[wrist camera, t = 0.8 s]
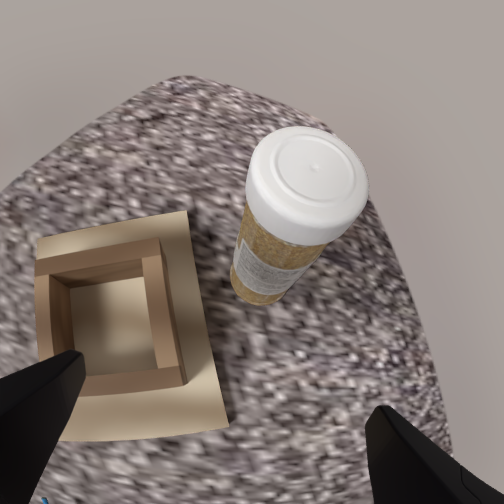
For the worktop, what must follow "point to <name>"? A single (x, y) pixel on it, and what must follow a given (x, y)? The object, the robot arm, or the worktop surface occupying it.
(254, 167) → the sprinkles bottle
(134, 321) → the bottle stand
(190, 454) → the worktop surface
